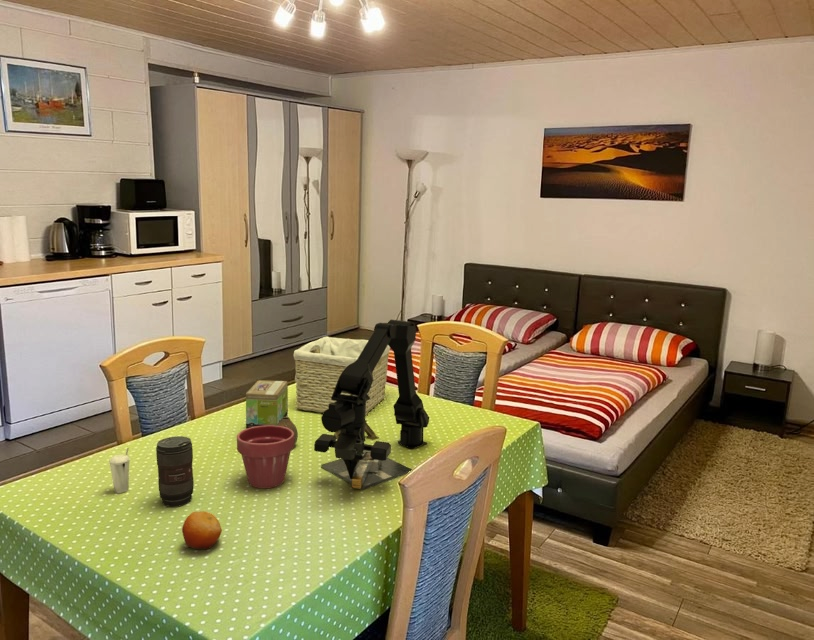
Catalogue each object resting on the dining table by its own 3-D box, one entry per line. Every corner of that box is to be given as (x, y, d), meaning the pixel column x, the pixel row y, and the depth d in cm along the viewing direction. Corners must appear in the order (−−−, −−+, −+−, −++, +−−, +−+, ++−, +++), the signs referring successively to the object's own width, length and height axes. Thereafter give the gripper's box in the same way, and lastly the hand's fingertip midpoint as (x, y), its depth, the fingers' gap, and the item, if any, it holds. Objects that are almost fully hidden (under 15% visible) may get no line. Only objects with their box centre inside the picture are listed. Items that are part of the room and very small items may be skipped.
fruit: (178, 529, 140) (197, 499, 139) (211, 545, 141) (230, 516, 140) (168, 549, 132) (187, 517, 131) (203, 566, 133) (222, 535, 133)
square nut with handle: (355, 459, 179) (355, 450, 179) (381, 461, 178) (381, 451, 178) (342, 487, 162) (342, 476, 162) (370, 489, 161) (370, 478, 161)
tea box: (278, 441, 195) (277, 393, 192) (245, 440, 195) (243, 393, 192) (288, 424, 210) (287, 379, 207) (257, 423, 210) (256, 379, 207)
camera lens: (201, 495, 159) (199, 437, 156) (181, 510, 151) (178, 449, 149) (173, 490, 161) (170, 433, 158) (151, 505, 154) (148, 445, 151)
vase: (292, 452, 187) (292, 423, 185) (270, 449, 188) (269, 421, 186) (301, 443, 193) (300, 415, 192) (279, 441, 195) (278, 413, 193)
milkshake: (137, 486, 163) (135, 449, 161) (122, 495, 158) (119, 457, 156) (123, 483, 164) (120, 446, 163) (107, 492, 160) (104, 454, 158)
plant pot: (286, 466, 177) (286, 421, 175) (301, 486, 165) (300, 439, 162) (233, 474, 171) (231, 428, 169) (244, 497, 158) (242, 447, 156)
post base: (370, 452, 188) (370, 432, 186) (412, 472, 174) (412, 451, 173) (321, 467, 176) (321, 446, 175) (361, 490, 163) (362, 467, 162)
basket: (392, 397, 239) (392, 340, 235) (366, 421, 214) (366, 356, 210) (324, 390, 247) (323, 334, 242) (291, 412, 221) (290, 349, 217)
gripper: (307, 426, 157) (305, 486, 160) (381, 436, 153) (378, 497, 156) (322, 411, 168) (320, 468, 171) (392, 420, 164) (389, 478, 167)
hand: (351, 478), depth 166 cm, fingers closed
